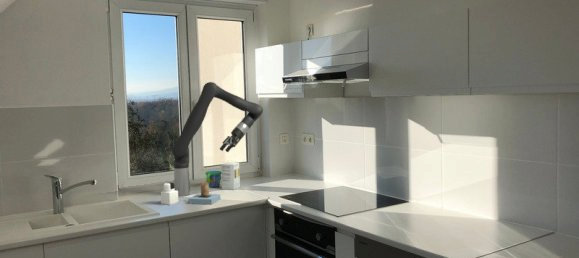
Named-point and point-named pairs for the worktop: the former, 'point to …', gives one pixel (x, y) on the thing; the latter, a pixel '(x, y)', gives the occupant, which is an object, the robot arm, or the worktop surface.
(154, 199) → the worktop surface
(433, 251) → the worktop surface
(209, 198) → the socket block
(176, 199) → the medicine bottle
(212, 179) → the snack cup
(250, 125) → the robot arm
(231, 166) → the supplement box
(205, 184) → the walnut peg
